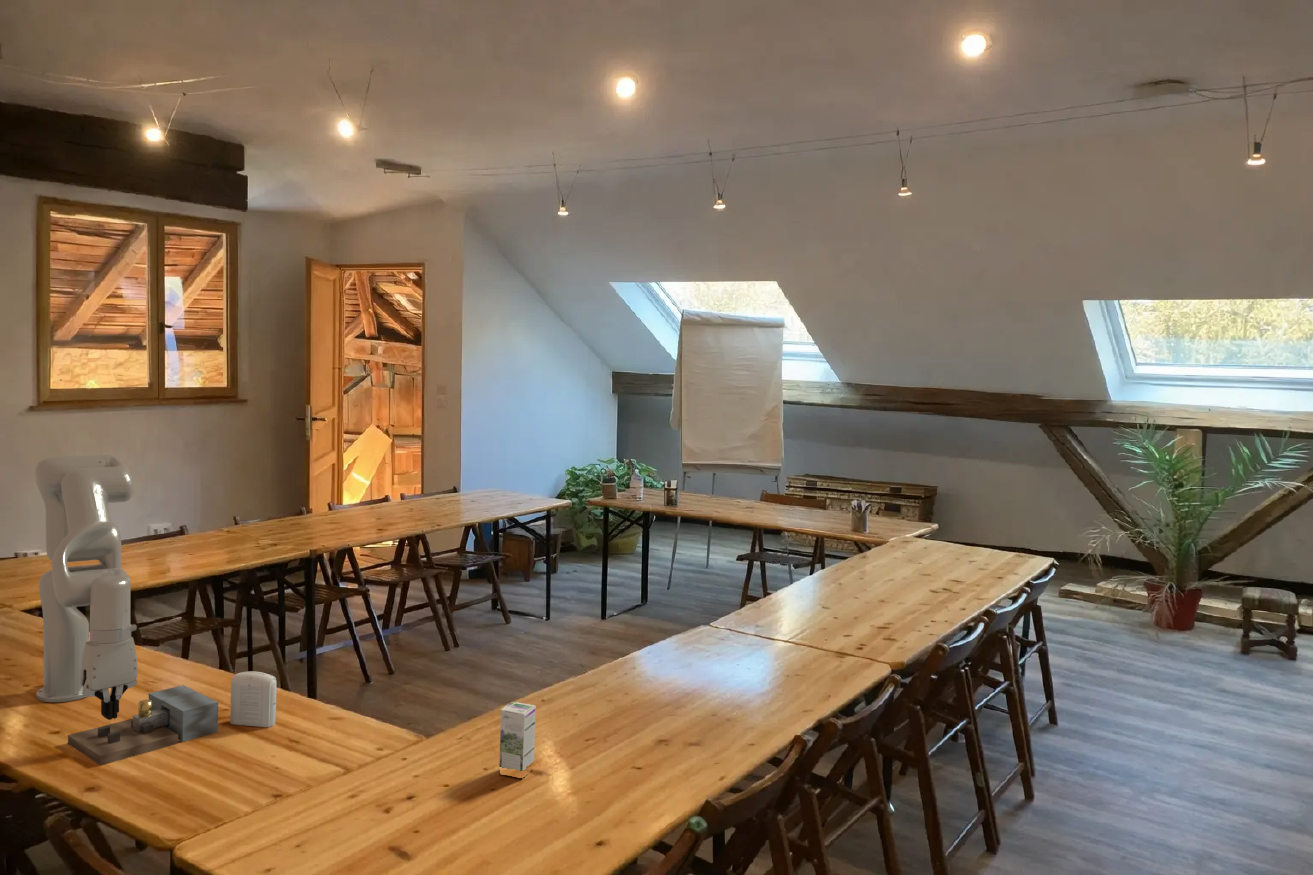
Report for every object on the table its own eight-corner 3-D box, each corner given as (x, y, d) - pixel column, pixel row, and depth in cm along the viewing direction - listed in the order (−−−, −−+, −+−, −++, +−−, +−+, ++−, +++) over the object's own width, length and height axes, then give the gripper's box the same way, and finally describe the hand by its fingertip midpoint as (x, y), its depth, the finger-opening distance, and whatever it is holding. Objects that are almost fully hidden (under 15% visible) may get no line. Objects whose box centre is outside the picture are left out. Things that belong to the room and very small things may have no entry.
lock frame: (100, 765, 199) (100, 732, 199) (67, 743, 209) (67, 712, 208) (217, 731, 219) (218, 701, 219) (183, 713, 229) (183, 684, 228)
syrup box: (534, 769, 207) (537, 704, 206) (522, 780, 201) (524, 713, 200) (510, 765, 209) (513, 699, 208) (497, 775, 203) (500, 708, 202)
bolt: (139, 732, 211) (139, 705, 211) (132, 728, 213) (132, 702, 213) (193, 717, 221) (193, 692, 220) (186, 714, 223) (186, 689, 222)
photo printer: (278, 721, 227) (279, 670, 226) (270, 728, 222) (271, 676, 221) (236, 718, 227) (237, 667, 226) (227, 725, 223) (227, 673, 222)
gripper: (138, 624, 215) (137, 704, 216) (64, 637, 203) (64, 722, 204) (154, 631, 210) (153, 712, 212) (80, 645, 198) (80, 731, 200)
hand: (110, 717), depth 208 cm, fingers closed
